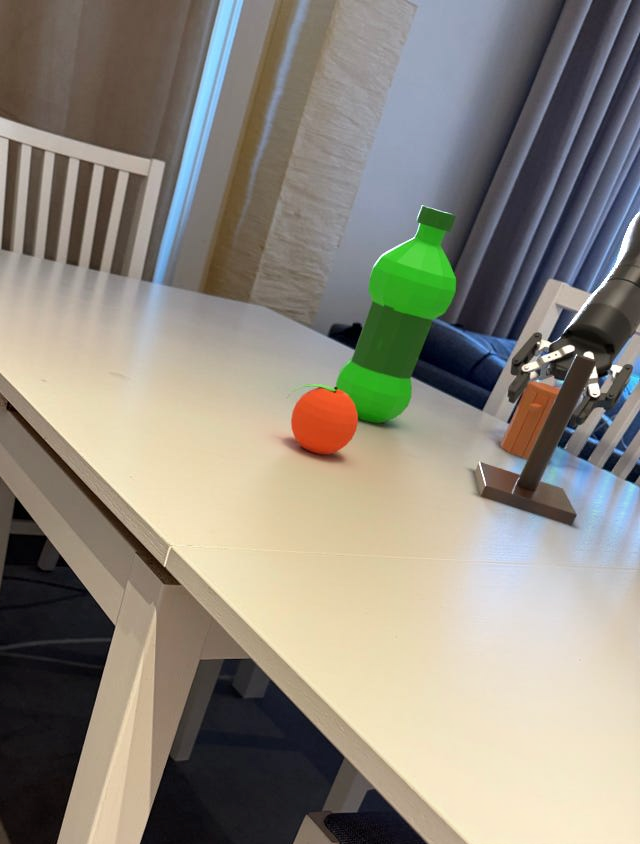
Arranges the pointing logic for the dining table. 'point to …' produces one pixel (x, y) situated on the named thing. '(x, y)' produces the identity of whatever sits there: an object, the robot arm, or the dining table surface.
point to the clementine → (324, 419)
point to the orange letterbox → (529, 418)
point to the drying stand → (540, 457)
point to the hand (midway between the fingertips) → (541, 410)
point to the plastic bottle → (399, 319)
